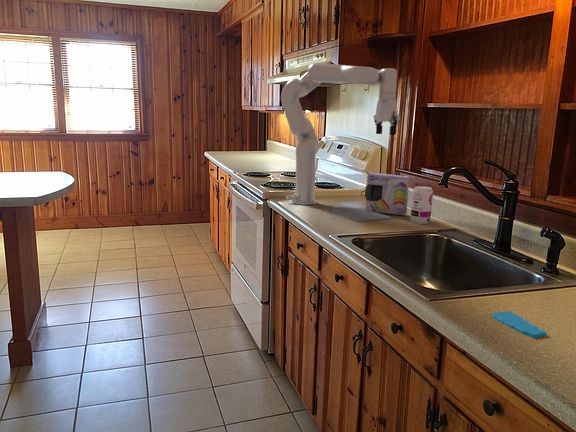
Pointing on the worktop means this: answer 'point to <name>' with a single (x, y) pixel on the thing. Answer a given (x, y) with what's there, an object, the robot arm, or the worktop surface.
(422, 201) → the supplement can
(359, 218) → the mat
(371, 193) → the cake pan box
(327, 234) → the worktop surface
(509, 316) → the sponge
